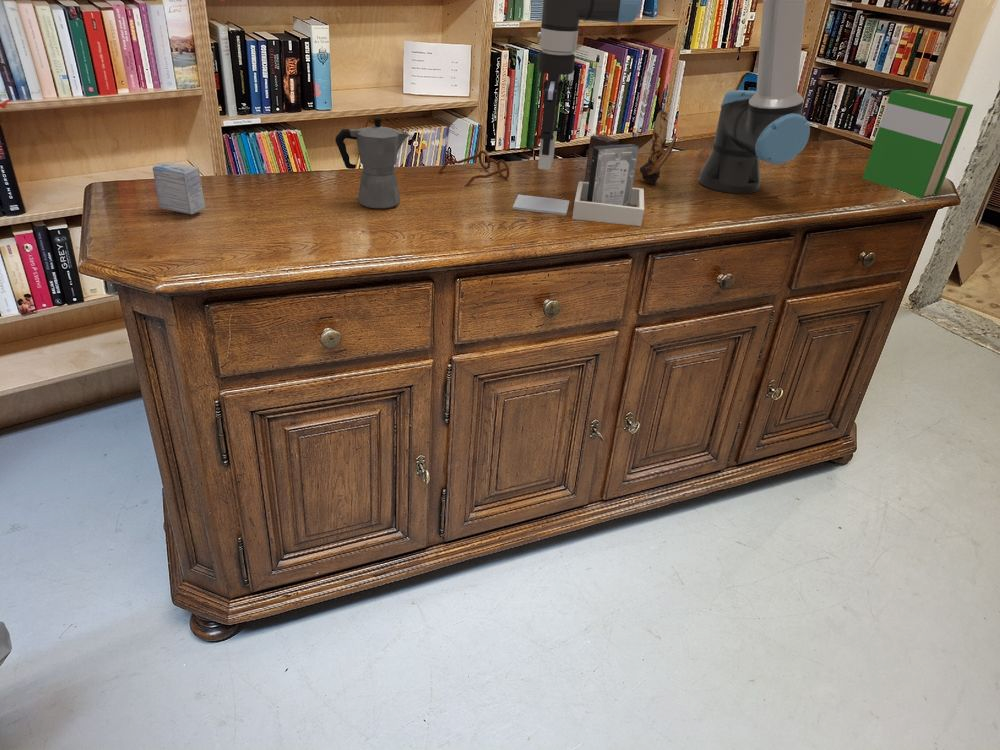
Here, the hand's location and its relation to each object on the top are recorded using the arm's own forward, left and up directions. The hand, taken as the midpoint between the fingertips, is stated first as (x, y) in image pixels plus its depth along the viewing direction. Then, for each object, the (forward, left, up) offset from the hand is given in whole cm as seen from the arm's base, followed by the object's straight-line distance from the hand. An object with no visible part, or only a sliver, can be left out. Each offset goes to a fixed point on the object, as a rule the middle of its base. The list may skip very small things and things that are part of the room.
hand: (545, 165), depth 163 cm
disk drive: (-15, -1, -9) cm, 18 cm away
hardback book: (-91, -46, -9) cm, 102 cm away
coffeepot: (+36, +11, -9) cm, 39 cm away
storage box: (-15, -1, -9) cm, 18 cm away
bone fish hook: (-25, -25, -9) cm, 36 cm away
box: (-12, -19, -9) cm, 24 cm away
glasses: (+19, -16, -10) cm, 27 cm away
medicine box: (+71, +28, -10) cm, 77 cm away
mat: (0, 0, -9) cm, 9 cm away
